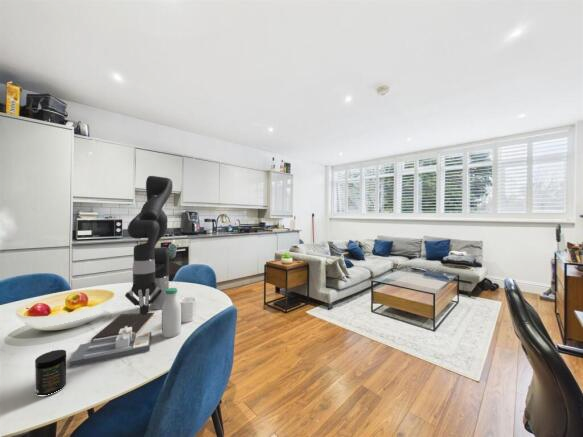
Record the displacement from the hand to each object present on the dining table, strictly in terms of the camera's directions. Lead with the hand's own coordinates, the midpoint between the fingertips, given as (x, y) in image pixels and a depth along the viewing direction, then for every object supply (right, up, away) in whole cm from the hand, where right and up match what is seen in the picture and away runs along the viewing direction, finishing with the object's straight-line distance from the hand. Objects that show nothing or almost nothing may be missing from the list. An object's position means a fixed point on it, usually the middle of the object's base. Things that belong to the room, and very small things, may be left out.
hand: (144, 314), depth 96 cm
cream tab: (-9, -11, +3) cm, 15 cm away
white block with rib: (-7, -11, -3) cm, 13 cm away
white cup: (+6, -13, +26) cm, 30 cm away
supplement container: (-15, -14, -22) cm, 30 cm away
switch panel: (-11, -13, -1) cm, 17 cm away
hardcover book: (-19, -13, +17) cm, 28 cm away
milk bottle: (+5, -14, +12) cm, 19 cm away
